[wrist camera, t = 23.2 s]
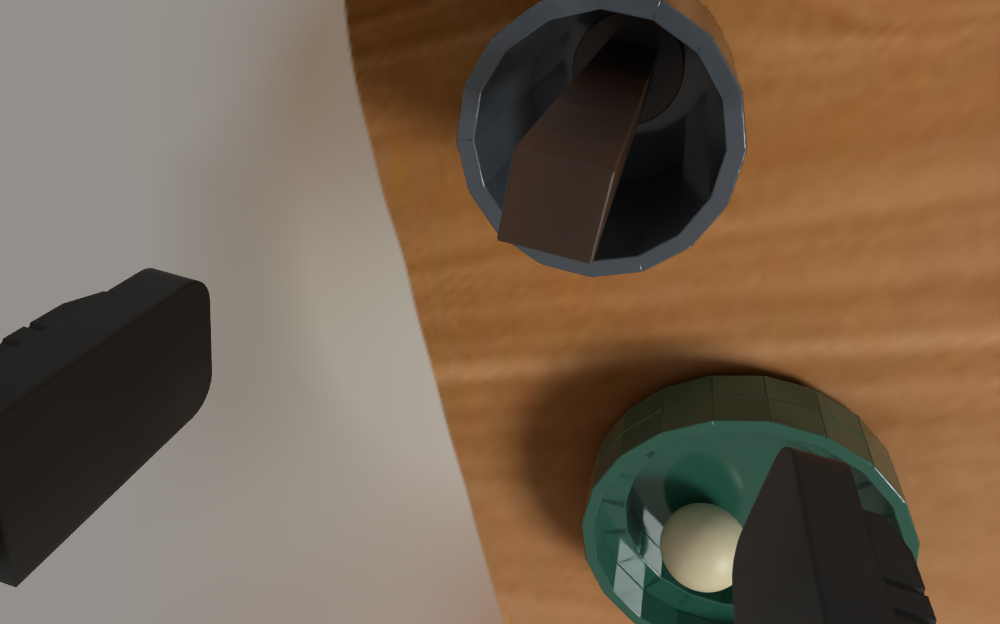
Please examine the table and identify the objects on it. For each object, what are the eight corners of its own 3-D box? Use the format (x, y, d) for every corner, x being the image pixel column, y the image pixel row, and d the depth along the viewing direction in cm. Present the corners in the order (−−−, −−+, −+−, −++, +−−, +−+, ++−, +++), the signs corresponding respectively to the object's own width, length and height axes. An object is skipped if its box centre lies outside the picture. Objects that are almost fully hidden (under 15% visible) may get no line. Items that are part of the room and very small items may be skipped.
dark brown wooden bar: (566, 106, 31) (432, 278, 16) (589, -3, 29) (462, 68, 13) (667, 130, 31) (635, 332, 15) (699, 20, 29) (699, 121, 13)
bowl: (568, 548, 44) (555, 608, 40) (633, 333, 36) (625, 381, 32) (826, 628, 42) (839, 699, 38) (950, 418, 34) (982, 480, 30)
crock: (507, 162, 34) (441, 239, 25) (544, -46, 30) (481, -39, 21) (695, 208, 33) (694, 305, 24) (762, -2, 28) (790, 25, 20)
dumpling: (646, 552, 40) (638, 551, 36) (694, 488, 41) (692, 481, 37) (714, 608, 39) (713, 615, 35) (764, 542, 39) (769, 540, 35)
